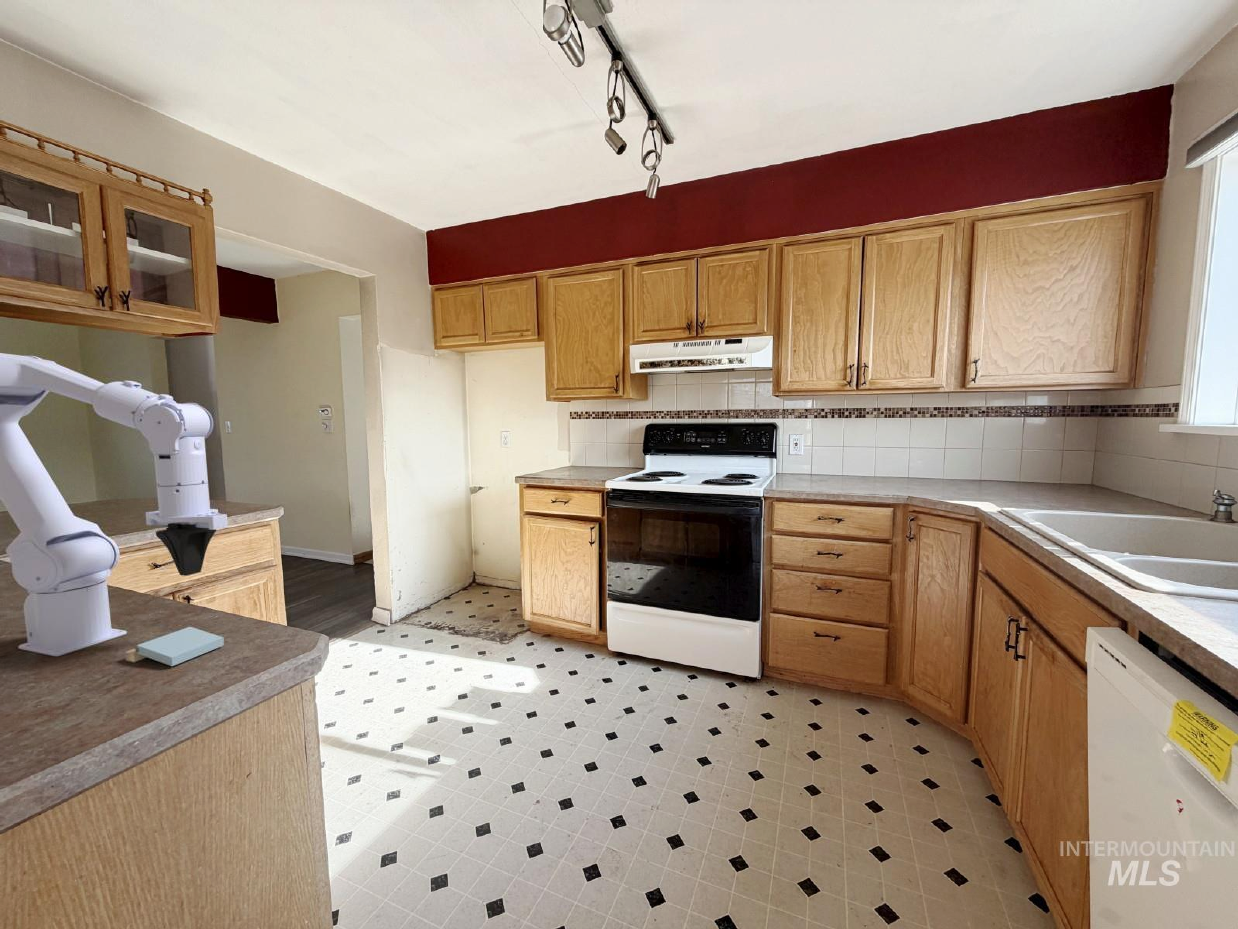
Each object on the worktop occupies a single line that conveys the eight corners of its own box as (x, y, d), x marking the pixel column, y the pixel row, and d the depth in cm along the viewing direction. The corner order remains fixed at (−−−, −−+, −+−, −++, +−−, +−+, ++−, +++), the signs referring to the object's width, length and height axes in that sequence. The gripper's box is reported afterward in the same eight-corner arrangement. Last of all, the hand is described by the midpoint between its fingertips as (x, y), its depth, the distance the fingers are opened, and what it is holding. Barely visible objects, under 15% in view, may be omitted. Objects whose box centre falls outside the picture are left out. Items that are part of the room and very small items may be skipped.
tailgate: (134, 644, 67) (172, 657, 64) (188, 626, 73) (223, 637, 71) (135, 652, 67) (172, 666, 65) (188, 633, 73) (223, 645, 71)
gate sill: (125, 660, 67) (125, 652, 67) (184, 639, 74) (183, 631, 74) (134, 662, 66) (133, 653, 66) (192, 640, 73) (191, 632, 73)
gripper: (245, 482, 74) (252, 569, 75) (180, 480, 78) (187, 562, 79) (193, 488, 67) (201, 584, 68) (125, 485, 72) (133, 575, 73)
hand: (190, 573), depth 74 cm, fingers closed
